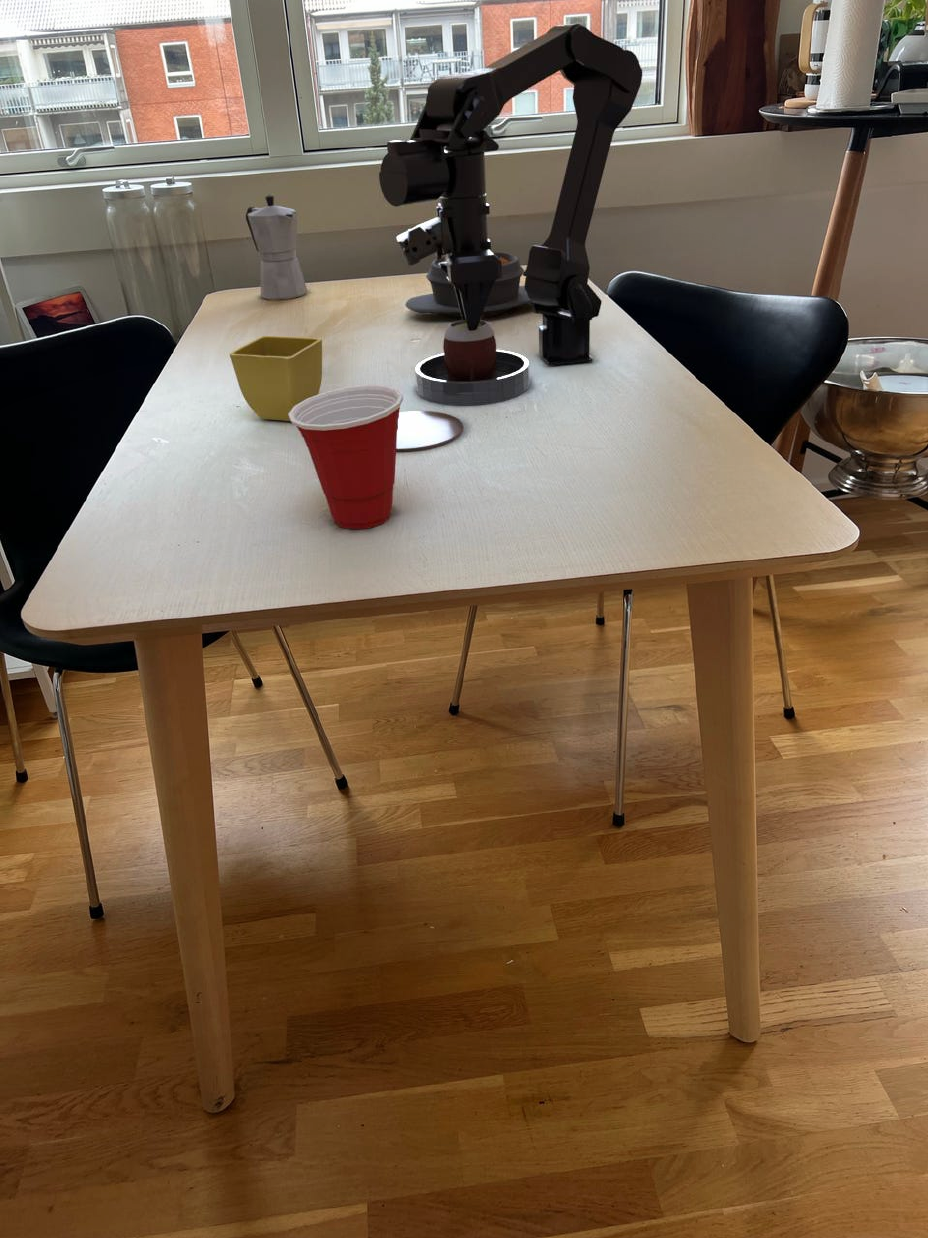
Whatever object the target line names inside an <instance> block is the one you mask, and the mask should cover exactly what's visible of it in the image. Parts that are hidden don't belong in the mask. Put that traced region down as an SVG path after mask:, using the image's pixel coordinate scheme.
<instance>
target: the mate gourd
mask: <svg viewBox="0 0 928 1238" xmlns="http://www.w3.org/2000/svg"><path fill="white" fill-rule="evenodd" d="M444 331H445V332H444V333H443V336H444V337H443V341H442V342H443V343H442V344H443V345H442V348H443V353H444V360H445V367H446V370H447V373H448V375H449V378H450V381H457V382H464V381H481V380H489V379H493V374H494V370H495V365H496V350H497V340H496V336H495V332H494V330H493V328H492V326H491V324H490V323H489V322H488V321H486V320H483V319H480V322H479V325H478V328H477V330H472V331H470V330H468V327H467V323H466V320H463V319H461V320H456V321H453V322H451V323H449V324H448V325H447V327H446V328H445V330H444Z"/></svg>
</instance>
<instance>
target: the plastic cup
mask: <svg viewBox="0 0 928 1238" xmlns="http://www.w3.org/2000/svg"><path fill="white" fill-rule="evenodd" d="M403 401H404V394H403V393H402V392H401V391H400V389H399V388H395V387H392V386H388V385H380V384H379V385H377V384H376V385H375V384H374V385H373V384H364V385H354V386H353V385H352V386H346V387H340V388H337V389H331V390H328V391H325V392H322V393H318V395H316V396H313V397H310V398H307V399H306V400H304V401H302V402H301V403H299V404H297V405H296V406H294V407H293V409H292V410H291V411H290V412H289V414H288V415H289V417H290V420H291V421H290V422H291V423H292V425H293V426H295V427H296V428H297V429H298V431H299V433H300V435H301V437H302V438H303V440H304V443H305V445H306V447H307V450H308V452H309V455H310V457H311V460H312V461H311V462H312V464H313V466H314V469H315V473H316V475H317V478H318V481H319V483H320V486H321V490H322V493H323V495H324V496H325V499H326V502H327V505H328V509H329V512H330V515H331V517H332V519H333V520H334V523H335V525H337V526H339V527H340V528H344V529H349V530H365V529H370V528H374V527H377V526H380V525H383V524H384V523H386V522H387V521H388V520H389V519H390V517H391V515H392V509H393V502H394V501H393V500H394V499H393V498H394V485H395V482H396V481H395V480H396V463H397V462H396V461H397V452H396V444H397V430H398V418H399V413H400V409H401V405H402V403H403Z"/></svg>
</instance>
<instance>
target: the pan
mask: <svg viewBox="0 0 928 1238" xmlns="http://www.w3.org/2000/svg"><path fill="white" fill-rule="evenodd" d="M414 370H415V384H416V385H415V386H416V390H417V394H418V396H419V397H421V399H423V400H426V401H427V402H431V403H435V404H441V405H445V406H446V405H447V406H464V407H465V406H481V405H489V404H495V403H500V402H501V403H502V402H505V401H509V400H511V399H514V398H517V397H519V396H520V395H522V394H524V393H525V392H527V390H528V389H529V388H530V361H529V359H528V358H527V357H525V356H524V355H521V354H519V353H515V352H512V351H506V350H501V349H496V365H495V370H494V374H493V379H489V380H481V381H464V382H457V381H450V378H449V375H448V373H447V370H446V367H445V360H444V352H443V353H440V354H436V355H433V356H430V357H428V358H425V359H423V360H422V361H420V362H419V363H418V364H417V365H416V366H415V368H414Z"/></svg>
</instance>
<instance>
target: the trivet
mask: <svg viewBox="0 0 928 1238" xmlns="http://www.w3.org/2000/svg"><path fill="white" fill-rule="evenodd" d="M463 432H464V424H463V423H462V421H461V420H460V418H458V417H456V416H453V415H451V414H449V413H444V412H440V411H439V412H438V411H430V410H411V411H401V412H400V411H399V418H398V430H397V444H396V453H409V452H418V451H419V452H420V451H425V450H429V449H434V448H438V447H441V446H444V445H447V444H449V443H451V442H453V441H455V440H456V439H458V438H459V437H460V436H461V435H462V433H463Z"/></svg>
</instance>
